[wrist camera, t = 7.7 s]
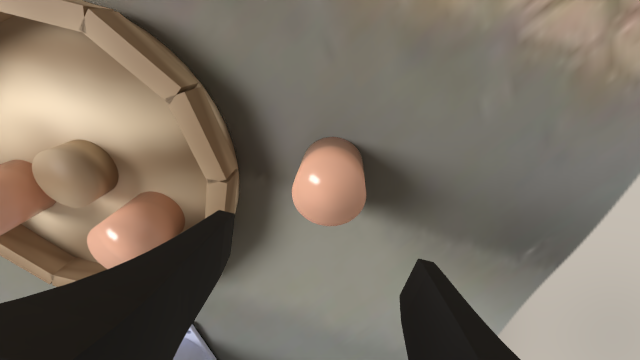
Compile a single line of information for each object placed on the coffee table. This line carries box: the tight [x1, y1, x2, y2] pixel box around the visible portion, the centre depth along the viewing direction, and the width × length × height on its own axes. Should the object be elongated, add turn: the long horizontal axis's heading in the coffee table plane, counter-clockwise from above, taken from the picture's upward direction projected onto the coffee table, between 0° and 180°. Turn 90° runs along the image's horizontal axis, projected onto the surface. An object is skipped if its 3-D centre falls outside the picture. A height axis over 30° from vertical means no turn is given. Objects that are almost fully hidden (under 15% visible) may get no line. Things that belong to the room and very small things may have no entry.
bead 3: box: [292, 137, 366, 226], centre depth 17 cm, size 4×4×4 cm
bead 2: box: [87, 191, 185, 269], centre depth 19 cm, size 4×4×4 cm
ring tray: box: [0, 0, 239, 287], centre depth 19 cm, size 20×20×3 cm
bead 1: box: [0, 160, 56, 236], centre depth 19 cm, size 4×4×4 cm
